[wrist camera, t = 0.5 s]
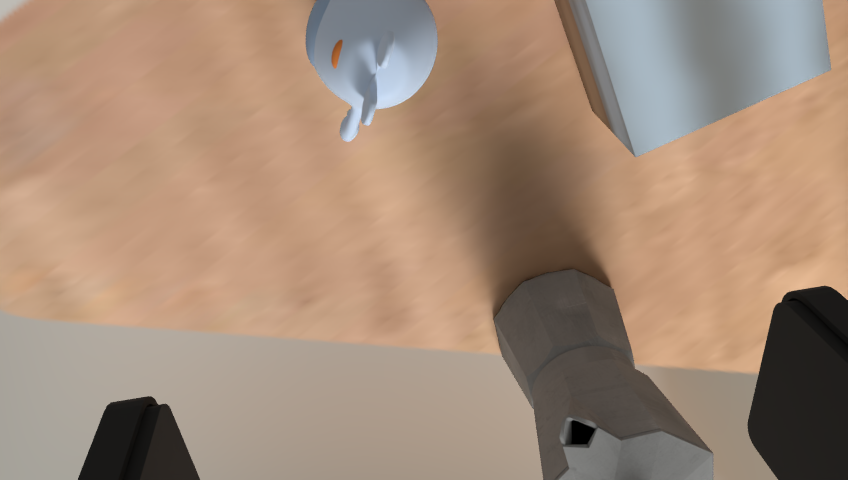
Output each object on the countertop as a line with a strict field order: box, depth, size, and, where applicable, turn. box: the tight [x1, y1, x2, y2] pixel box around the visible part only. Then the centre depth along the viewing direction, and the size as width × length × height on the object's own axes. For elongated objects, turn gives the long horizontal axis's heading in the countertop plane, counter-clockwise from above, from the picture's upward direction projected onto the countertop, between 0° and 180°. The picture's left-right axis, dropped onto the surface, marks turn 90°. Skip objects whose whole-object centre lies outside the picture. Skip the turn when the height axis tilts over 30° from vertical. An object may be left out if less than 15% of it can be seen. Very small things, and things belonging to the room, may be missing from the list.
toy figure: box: [306, 0, 438, 141], centre depth 30 cm, size 11×6×12 cm, turn 162°
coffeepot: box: [494, 269, 713, 480], centre depth 40 cm, size 15×9×18 cm, turn 36°
